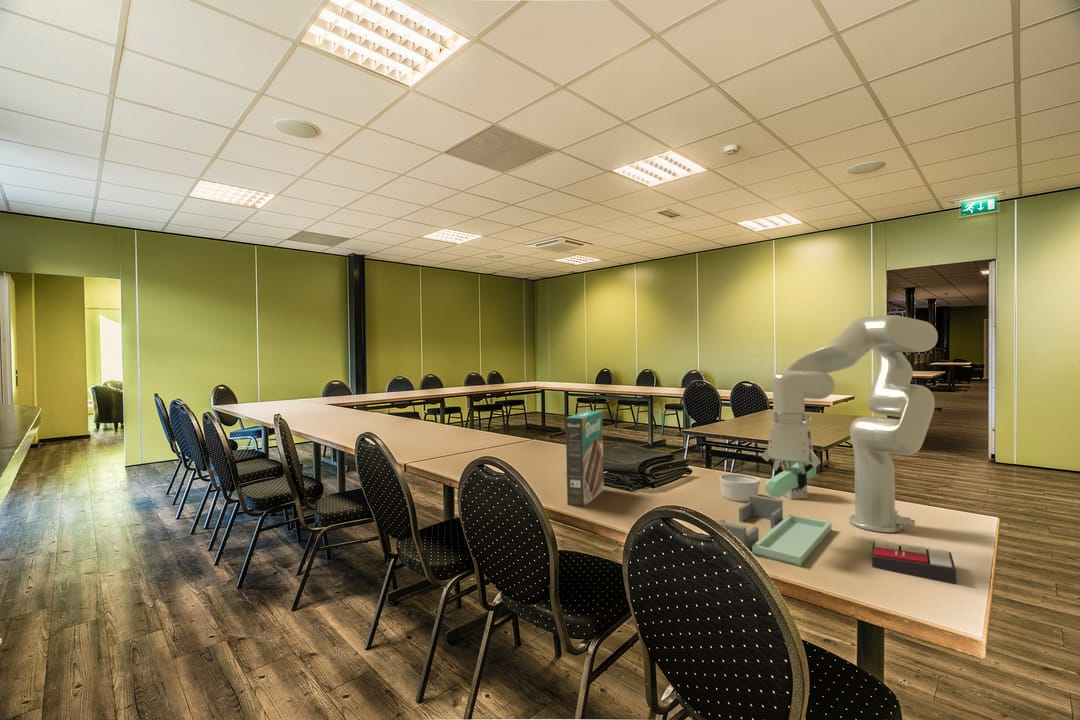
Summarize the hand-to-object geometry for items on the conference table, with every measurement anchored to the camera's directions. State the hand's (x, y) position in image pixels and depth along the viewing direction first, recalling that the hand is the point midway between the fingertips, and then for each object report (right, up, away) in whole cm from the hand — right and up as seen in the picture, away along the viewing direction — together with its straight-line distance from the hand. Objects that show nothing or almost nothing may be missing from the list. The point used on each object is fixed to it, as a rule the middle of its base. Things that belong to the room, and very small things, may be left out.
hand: (790, 485), depth 128 cm
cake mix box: (-51, -16, +44) cm, 69 cm away
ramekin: (+3, -15, +40) cm, 43 cm away
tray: (+1, -15, -1) cm, 15 cm away
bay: (-8, -15, +8) cm, 19 cm away
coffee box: (+22, -15, +41) cm, 49 cm away
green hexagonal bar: (0, -1, 0) cm, 1 cm away
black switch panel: (+20, -15, -17) cm, 30 cm away
